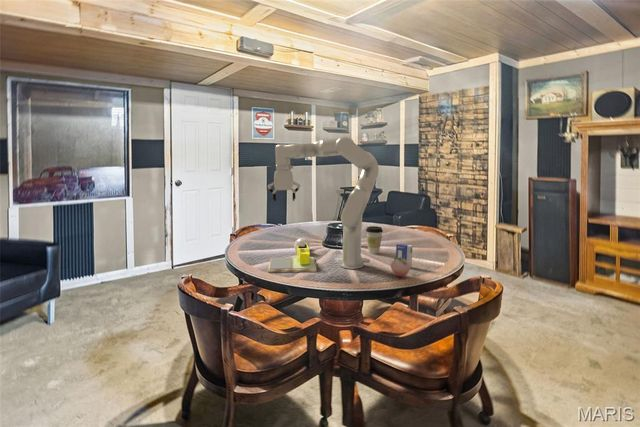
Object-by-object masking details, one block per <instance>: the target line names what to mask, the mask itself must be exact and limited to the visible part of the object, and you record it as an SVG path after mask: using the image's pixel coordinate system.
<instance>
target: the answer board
mask: <svg viewBox="0 0 640 427" xmlns="http://www.w3.org/2000/svg"><path fill="white" fill-rule="evenodd" d="M267 272H268V273H312V272H314V273H315V272H316V273H317V265H316V260H315V256H310V264H309V263H308V264H307V265H302V264H300V263H299V261H298V257H297V256H295V257H291V256H290V257H289V256H288V257H287V256H286V257H278V256H277V257H270V260H269V264H268V270H267Z"/></svg>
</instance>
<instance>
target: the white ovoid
mask: <svg viewBox="0 0 640 427" xmlns="http://www.w3.org/2000/svg"><path fill="white" fill-rule="evenodd" d="M305 244H307V245H308V247H309V250H310V248H311V243H310V240H309V239H308V238H306V237H299V238H297V239H296V240H295V242H294V245H293V246H294V249H295V251H296V252H297V246H298V247H299V246H304V247H305Z"/></svg>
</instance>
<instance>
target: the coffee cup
mask: <svg viewBox="0 0 640 427" xmlns="http://www.w3.org/2000/svg"><path fill="white" fill-rule="evenodd" d="M365 232H366V240H367V250H368V254H371V255H378V254H379V253H380V248H381V242H382V233H383V232H384V230H383V228H382V227H381V226H375V225H374V226H372V225H371V226H367V227H366V229H365Z"/></svg>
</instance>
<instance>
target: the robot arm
mask: <svg viewBox="0 0 640 427" xmlns="http://www.w3.org/2000/svg"><path fill="white" fill-rule="evenodd" d="M274 149H275V150H274V151H275V171H274V175H273V182H271V183H269V184H268V185H267V189H268V190H269V192H270V193H272V199H273V201H274V202H277V194H276V192H277V191H291V192H292V201H293V202H294V201H295V200H296V193H297V192H298V191H299V189H300V187H301V184H300V183H298V182H296V181H294V176H293V171H292V169H294V165H291V159H303V158H304V159H305V158H315V157H322V158H324V157H333V156H341V157H343V158H345V159H346V160H347V161H348V162H350V163H351V164H352V165H353V166H354V167H357V168H358V169H360V170H361V172H360V175H359V177H358V180H357V182H356V185H355V187H354V188H353V190H352V191H351V192H350V193H349V195H348V197H347V200H346V202H345V205H344V208H343V210H342V212H341V214H340V221H341V223H342V225H343V228H342V231H343V237H342V260H341V261H340V262H339V266H340V267H341V268H344V269H348V270H351V269H352V270H359V269H361V268H363V267H364V266H365V265H364V263H370V262H371V261H370V260H371V259H370V258H367V257H365V258H364V257H362V228H363V227H362V226H363V214H364V213H365V210H366V207H367V204H368V202H369V201H370V197H371V194H372V192H373V189H374V186H375V184H376V182H377V179H378V175H379V163H378V161H377V159H376V158H375V156H374V155H373V154H372V153H371V152H369V151H368V150H366V151H365V150H364V149H363V148H362V147H360V146H359V145H358V144H356V143H355V141H354V140H353V139H352V138H350V137H348V136H343V137H336V138H327V139H320V140H318V141H315V142H307V143H306V142H305V143H293V144H277V145H275V148H274ZM294 185H295V186H296V188H295V189H294V187H295V186H294ZM273 186H274V187H273ZM272 187H273V188H274V190H273V189H272Z"/></svg>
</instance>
